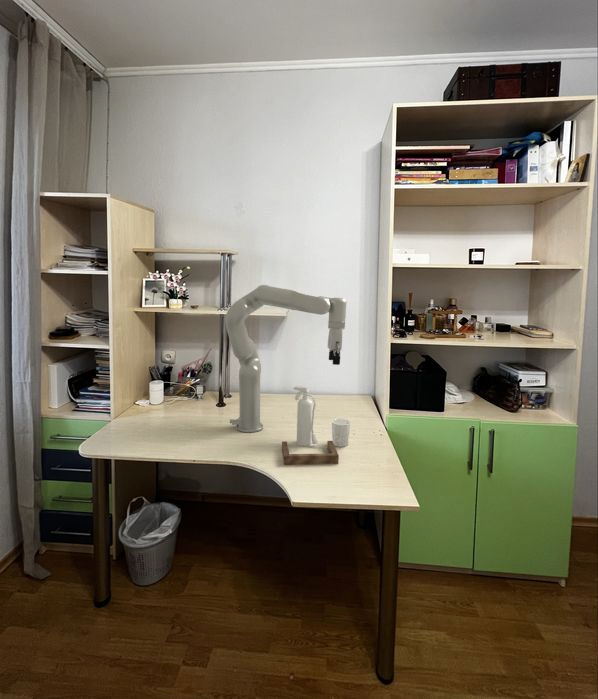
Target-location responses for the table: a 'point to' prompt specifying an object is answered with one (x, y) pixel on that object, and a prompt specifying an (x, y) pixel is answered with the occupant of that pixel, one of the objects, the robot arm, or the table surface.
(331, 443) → the u rest
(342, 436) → the white cup
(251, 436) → the table surface
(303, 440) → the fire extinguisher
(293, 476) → the table surface
